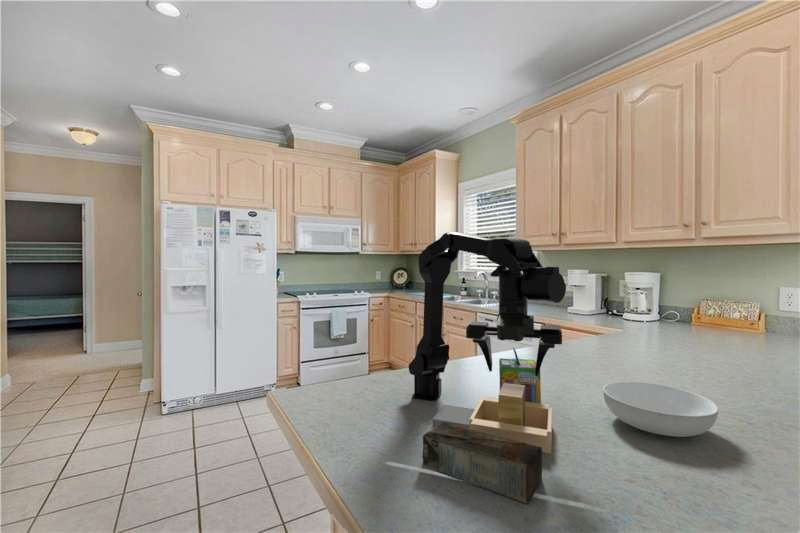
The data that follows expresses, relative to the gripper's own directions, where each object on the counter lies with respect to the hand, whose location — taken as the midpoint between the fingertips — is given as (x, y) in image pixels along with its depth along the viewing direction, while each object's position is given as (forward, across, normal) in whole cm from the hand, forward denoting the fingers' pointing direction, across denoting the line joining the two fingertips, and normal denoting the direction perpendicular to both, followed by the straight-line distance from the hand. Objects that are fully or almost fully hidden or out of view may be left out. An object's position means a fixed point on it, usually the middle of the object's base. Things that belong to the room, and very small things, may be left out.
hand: (513, 373), depth 79 cm
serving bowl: (+13, +29, +16) cm, 36 cm away
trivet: (+13, -13, +2) cm, 18 cm away
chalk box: (+13, 0, +16) cm, 21 cm away
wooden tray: (+13, 0, 0) cm, 13 cm away
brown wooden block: (+13, 0, 0) cm, 13 cm away
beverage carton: (+14, -4, -17) cm, 22 cm away
